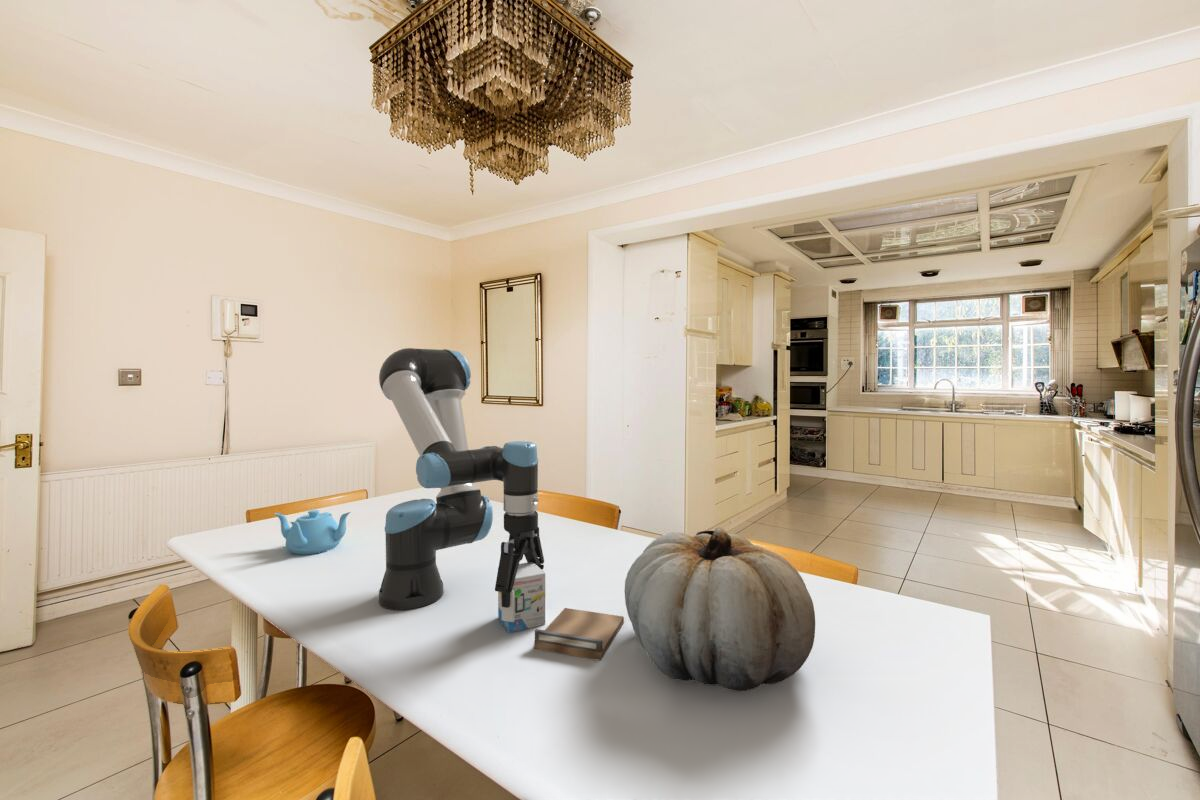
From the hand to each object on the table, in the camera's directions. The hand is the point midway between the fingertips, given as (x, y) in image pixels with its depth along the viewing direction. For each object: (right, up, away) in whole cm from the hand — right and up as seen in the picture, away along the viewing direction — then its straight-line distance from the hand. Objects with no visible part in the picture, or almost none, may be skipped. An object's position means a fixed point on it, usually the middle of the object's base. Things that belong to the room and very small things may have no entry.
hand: (521, 608), depth 113 cm
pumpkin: (+39, -3, -14) cm, 42 cm away
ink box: (0, -3, 0) cm, 3 cm away
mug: (+51, -2, +34) cm, 61 cm away
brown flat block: (+14, -3, -7) cm, 15 cm away
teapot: (-76, -2, +51) cm, 91 cm away
